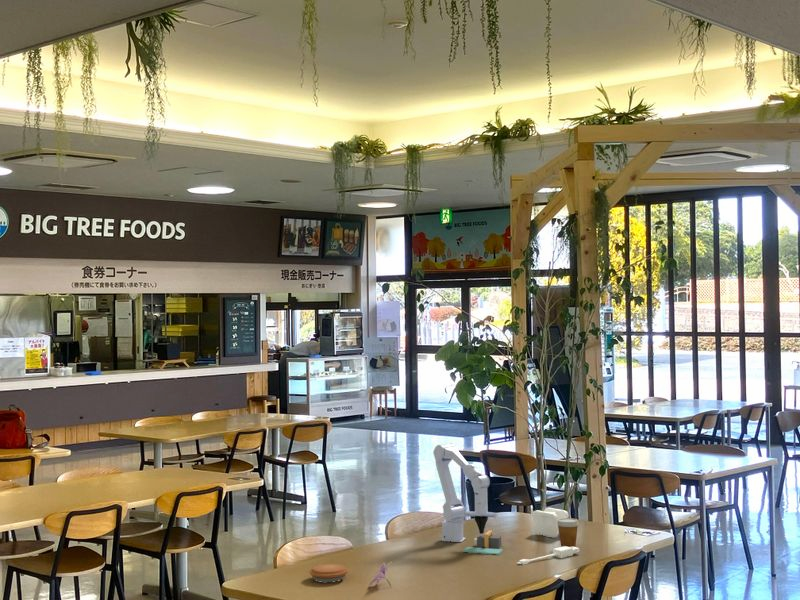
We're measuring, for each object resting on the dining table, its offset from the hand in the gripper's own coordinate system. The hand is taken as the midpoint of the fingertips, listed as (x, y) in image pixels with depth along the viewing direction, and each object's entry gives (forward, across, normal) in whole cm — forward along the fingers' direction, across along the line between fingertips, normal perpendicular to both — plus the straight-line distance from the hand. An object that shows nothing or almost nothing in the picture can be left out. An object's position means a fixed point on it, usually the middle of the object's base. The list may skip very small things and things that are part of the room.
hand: (481, 533), depth 427 cm
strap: (+6, +3, 0) cm, 7 cm away
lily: (+6, -19, -74) cm, 77 cm away
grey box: (+6, +3, 0) cm, 7 cm away
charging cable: (+6, +33, -14) cm, 37 cm away
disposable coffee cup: (+6, +37, +8) cm, 38 cm away
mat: (+6, +3, -10) cm, 12 cm away
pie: (+6, -43, -71) cm, 83 cm away
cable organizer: (+6, +25, +30) cm, 40 cm away
